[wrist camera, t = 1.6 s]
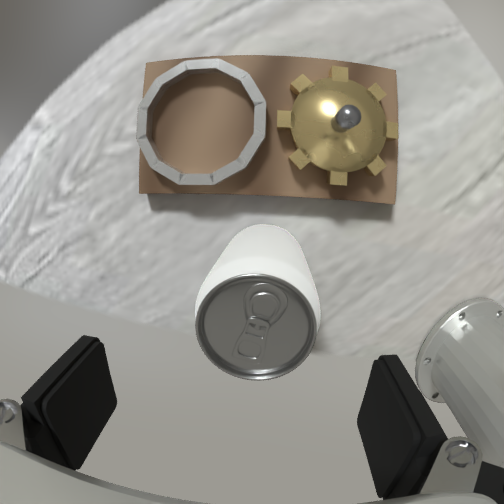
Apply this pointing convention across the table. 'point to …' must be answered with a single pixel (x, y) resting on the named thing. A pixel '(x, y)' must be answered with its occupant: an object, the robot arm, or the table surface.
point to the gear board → (242, 128)
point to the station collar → (156, 94)
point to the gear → (337, 125)
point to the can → (258, 306)
